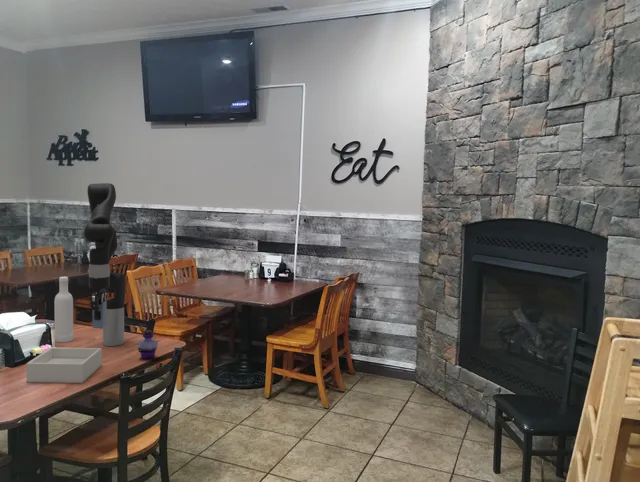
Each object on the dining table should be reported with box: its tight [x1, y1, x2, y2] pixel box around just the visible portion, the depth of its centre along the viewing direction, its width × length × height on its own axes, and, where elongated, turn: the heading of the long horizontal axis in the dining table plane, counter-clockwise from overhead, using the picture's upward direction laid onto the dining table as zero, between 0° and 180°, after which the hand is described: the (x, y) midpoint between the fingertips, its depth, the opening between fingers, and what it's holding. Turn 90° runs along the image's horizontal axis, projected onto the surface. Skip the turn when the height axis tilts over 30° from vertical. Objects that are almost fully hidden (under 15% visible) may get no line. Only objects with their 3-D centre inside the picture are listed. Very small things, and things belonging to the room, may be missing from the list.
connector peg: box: [91, 301, 106, 329], centre depth 203 cm, size 4×4×10 cm
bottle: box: [54, 276, 74, 343], centre depth 243 cm, size 8×8×30 cm
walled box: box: [25, 347, 103, 384], centre depth 202 cm, size 20×20×7 cm
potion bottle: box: [137, 329, 159, 361], centre depth 223 cm, size 9×9×12 cm
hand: (99, 318), depth 203 cm, fingers closed on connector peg, 4 cm apart
